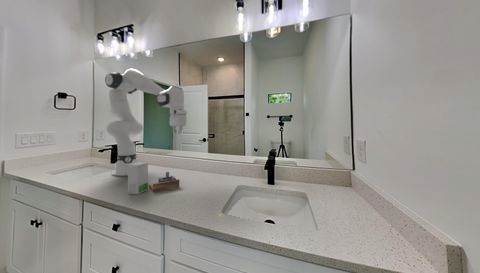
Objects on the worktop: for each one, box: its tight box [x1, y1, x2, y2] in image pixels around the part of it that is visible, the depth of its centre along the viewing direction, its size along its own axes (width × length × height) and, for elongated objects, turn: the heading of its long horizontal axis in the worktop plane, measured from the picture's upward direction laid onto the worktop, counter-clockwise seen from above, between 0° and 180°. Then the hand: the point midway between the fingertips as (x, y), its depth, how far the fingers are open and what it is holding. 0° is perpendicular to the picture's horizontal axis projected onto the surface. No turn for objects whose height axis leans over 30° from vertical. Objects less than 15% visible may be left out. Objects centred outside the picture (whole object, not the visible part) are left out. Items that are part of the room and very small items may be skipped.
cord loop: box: [157, 175, 177, 183], centre depth 106 cm, size 6×8×3 cm
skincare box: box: [127, 161, 149, 195], centre depth 97 cm, size 8×7×16 cm
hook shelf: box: [148, 171, 180, 193], centre depth 105 cm, size 12×14×8 cm
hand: (177, 133), depth 116 cm, fingers open, 8 cm apart
